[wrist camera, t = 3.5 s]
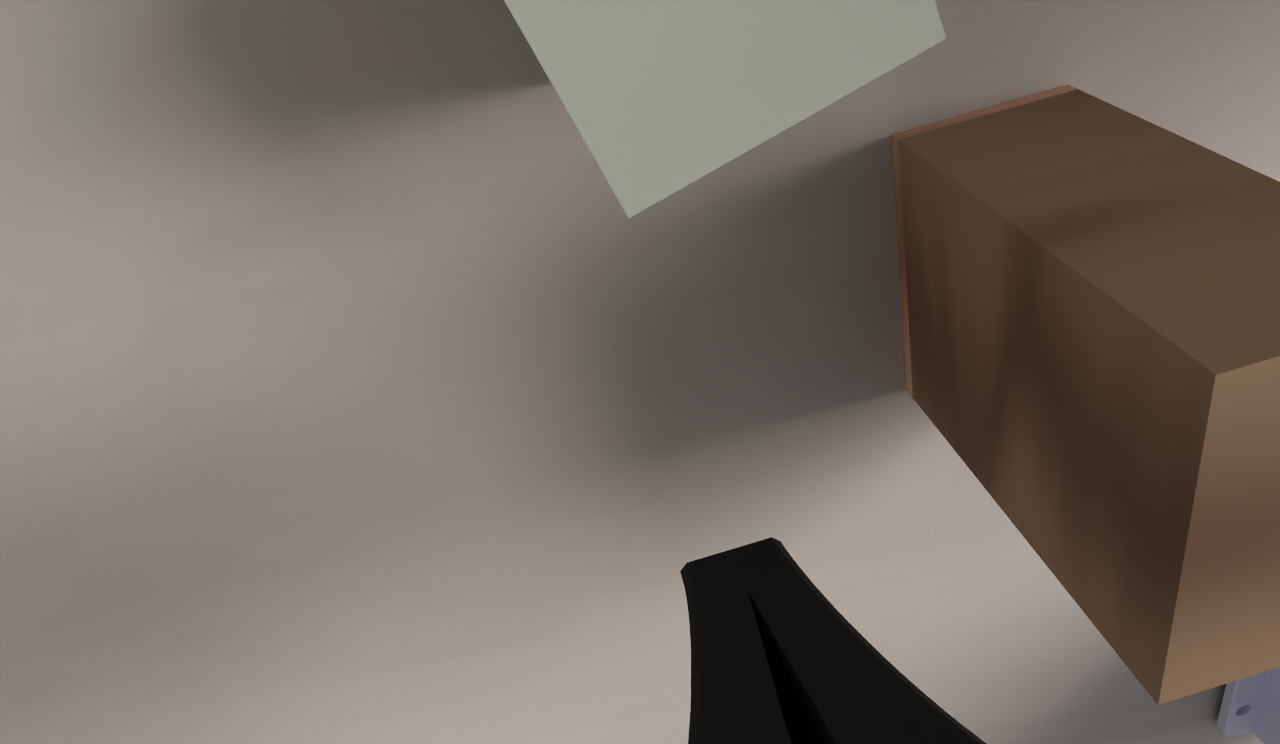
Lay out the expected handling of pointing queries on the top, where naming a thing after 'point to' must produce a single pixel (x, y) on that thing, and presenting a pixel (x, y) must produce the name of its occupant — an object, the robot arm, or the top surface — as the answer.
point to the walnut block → (1108, 365)
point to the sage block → (708, 74)
